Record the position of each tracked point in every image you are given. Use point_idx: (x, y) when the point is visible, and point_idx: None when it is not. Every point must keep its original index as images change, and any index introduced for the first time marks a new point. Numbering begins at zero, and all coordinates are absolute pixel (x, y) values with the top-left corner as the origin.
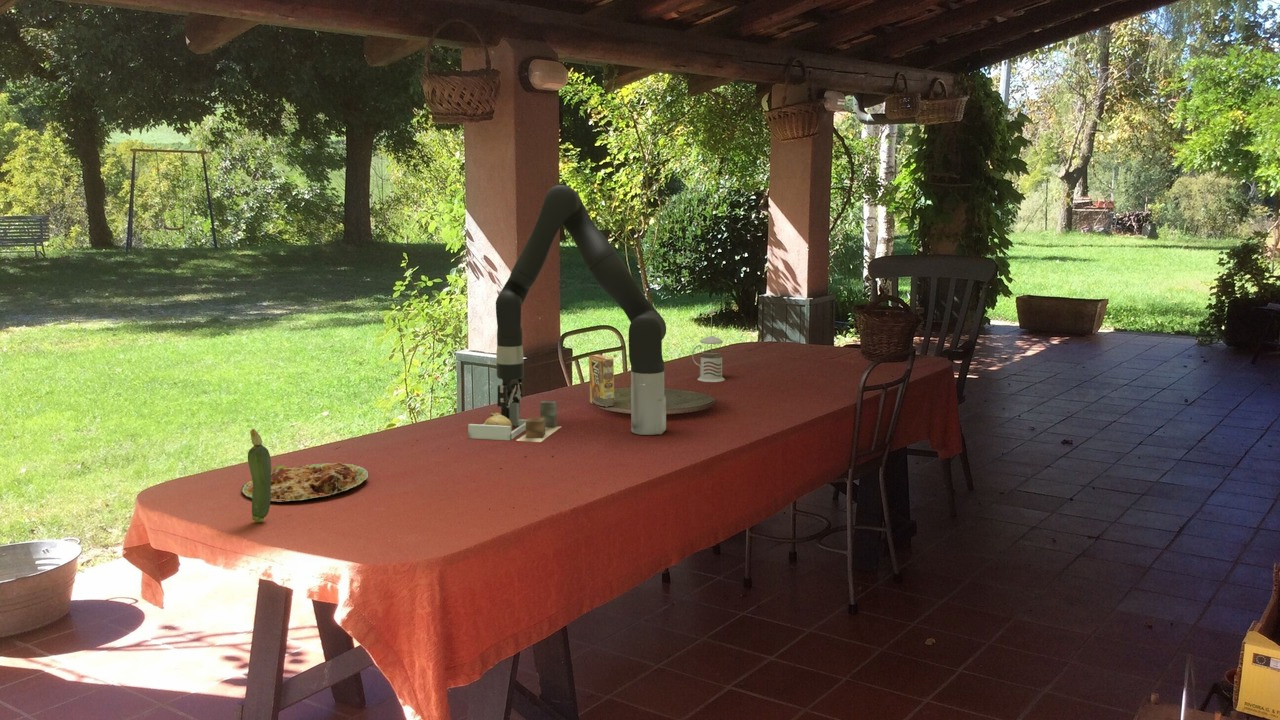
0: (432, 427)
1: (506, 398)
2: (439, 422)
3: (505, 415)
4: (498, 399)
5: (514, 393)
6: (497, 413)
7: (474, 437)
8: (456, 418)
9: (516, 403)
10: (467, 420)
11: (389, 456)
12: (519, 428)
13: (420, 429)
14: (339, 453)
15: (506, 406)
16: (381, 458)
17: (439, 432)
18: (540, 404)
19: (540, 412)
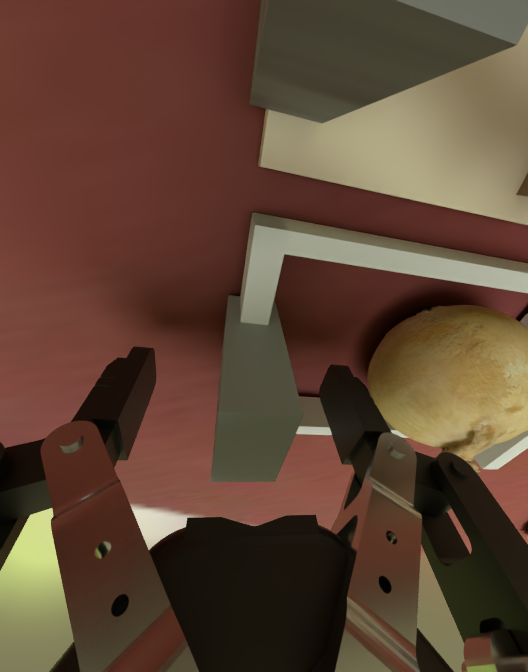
0: (247, 499)
1: (505, 540)
2: (189, 503)
3: (368, 400)
4: (466, 552)
5: (245, 559)
6: (486, 444)
7: None
8: (126, 491)
9: (251, 424)
10: (141, 470)
11: (500, 487)
12: (510, 270)
13: (269, 507)
14: None
15: (447, 455)
16: (508, 491)
17: (302, 480)
18: (475, 53)
19: (380, 97)
